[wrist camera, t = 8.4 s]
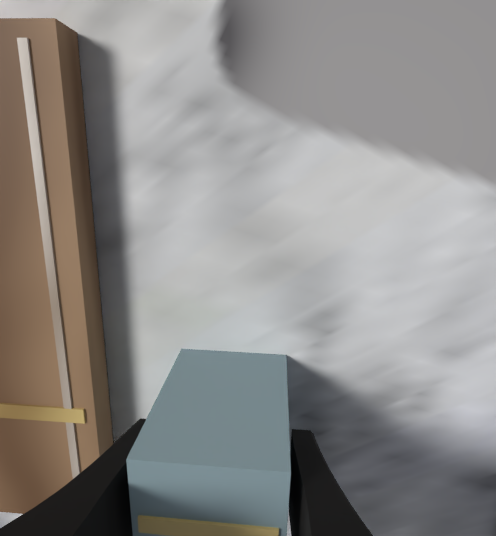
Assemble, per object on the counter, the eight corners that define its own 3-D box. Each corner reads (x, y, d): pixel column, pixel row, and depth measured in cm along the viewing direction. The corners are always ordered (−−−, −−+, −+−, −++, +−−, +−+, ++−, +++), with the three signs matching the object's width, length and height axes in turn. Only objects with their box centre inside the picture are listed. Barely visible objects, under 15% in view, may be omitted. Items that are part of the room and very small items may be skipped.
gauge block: (286, 354, 14) (291, 475, 9) (281, 442, 15) (282, 595, 10) (181, 348, 14) (124, 461, 9) (184, 434, 16) (135, 580, 10)
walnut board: (77, 32, 12) (53, 17, 10) (117, 496, 16) (105, 522, 15) (-104, 32, 12) (-148, 17, 11) (-12, 485, 17) (-35, 510, 16)
